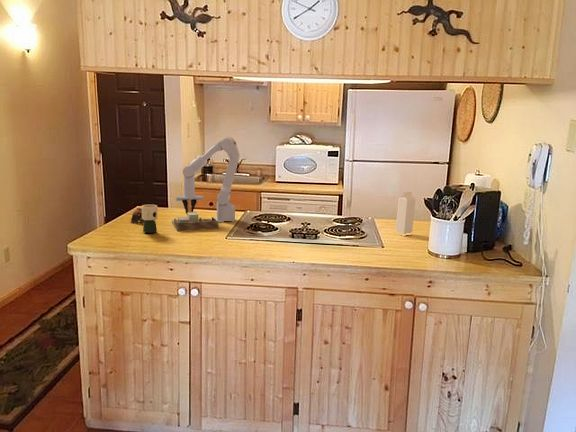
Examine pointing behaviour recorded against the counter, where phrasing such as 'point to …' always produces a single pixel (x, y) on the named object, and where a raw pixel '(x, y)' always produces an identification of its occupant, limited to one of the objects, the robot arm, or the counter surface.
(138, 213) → the dark brown lumpy figurine
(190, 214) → the rod with orange block
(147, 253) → the counter surface
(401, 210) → the milk
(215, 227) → the lane shelf
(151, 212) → the character mug
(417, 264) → the counter surface
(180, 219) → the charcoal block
